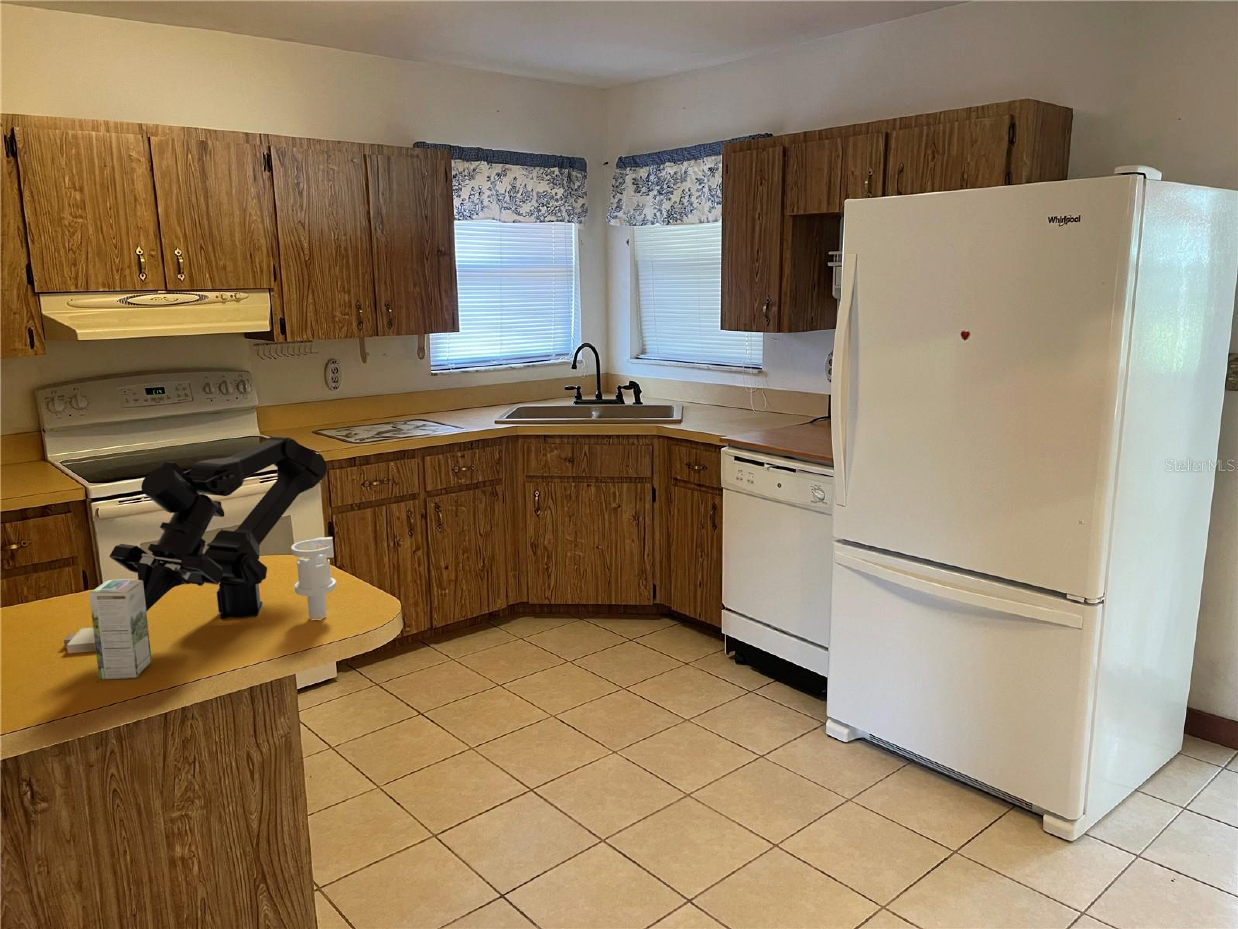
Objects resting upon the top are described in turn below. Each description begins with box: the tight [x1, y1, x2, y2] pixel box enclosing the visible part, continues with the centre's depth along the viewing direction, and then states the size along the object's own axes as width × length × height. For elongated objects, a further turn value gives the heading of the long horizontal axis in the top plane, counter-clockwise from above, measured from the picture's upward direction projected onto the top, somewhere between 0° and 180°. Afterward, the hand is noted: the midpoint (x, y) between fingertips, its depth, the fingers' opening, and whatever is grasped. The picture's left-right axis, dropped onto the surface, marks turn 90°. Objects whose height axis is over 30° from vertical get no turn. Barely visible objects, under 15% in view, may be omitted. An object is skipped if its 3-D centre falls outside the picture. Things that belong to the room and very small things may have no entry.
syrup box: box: [89, 578, 153, 680], centre depth 140 cm, size 6×6×14 cm
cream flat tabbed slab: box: [63, 627, 96, 654], centre depth 152 cm, size 10×7×2 cm
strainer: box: [290, 536, 337, 620], centre depth 161 cm, size 7×7×15 cm
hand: (141, 611), depth 143 cm, fingers closed
